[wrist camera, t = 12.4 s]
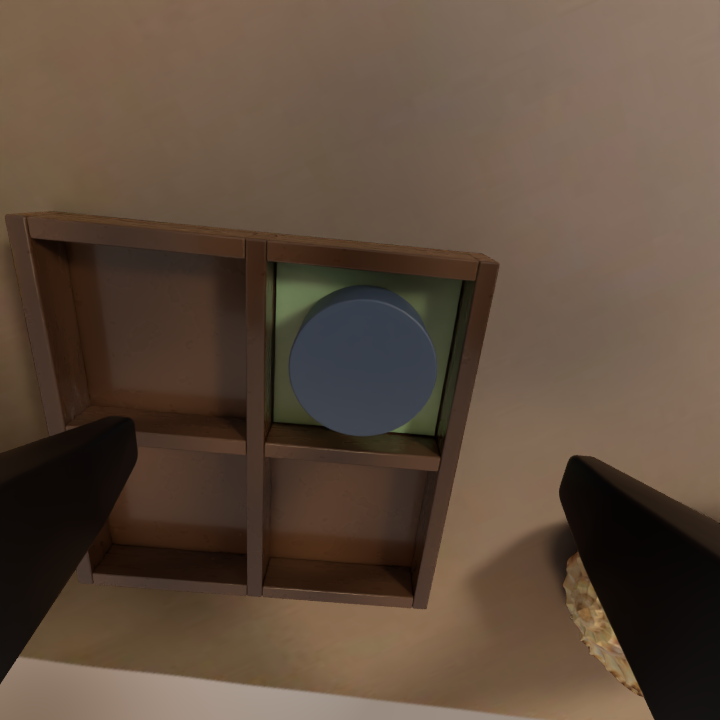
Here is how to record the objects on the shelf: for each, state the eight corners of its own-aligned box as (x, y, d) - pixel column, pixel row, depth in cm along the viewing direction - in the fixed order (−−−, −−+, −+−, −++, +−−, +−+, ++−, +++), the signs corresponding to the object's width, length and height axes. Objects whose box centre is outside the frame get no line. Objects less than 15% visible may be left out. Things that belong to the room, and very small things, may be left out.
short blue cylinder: (438, 291, 14) (449, 307, 12) (418, 412, 15) (425, 443, 13) (300, 278, 13) (290, 292, 12) (295, 401, 15) (285, 430, 13)
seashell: (700, 454, 20) (540, 527, 16) (892, 542, 15) (723, 680, 11) (664, 578, 23) (520, 665, 19) (814, 687, 17) (659, 837, 14)
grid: (483, 253, 14) (500, 262, 12) (420, 571, 19) (426, 610, 17) (50, 211, 13) (2, 213, 12) (105, 546, 18) (78, 583, 17)
